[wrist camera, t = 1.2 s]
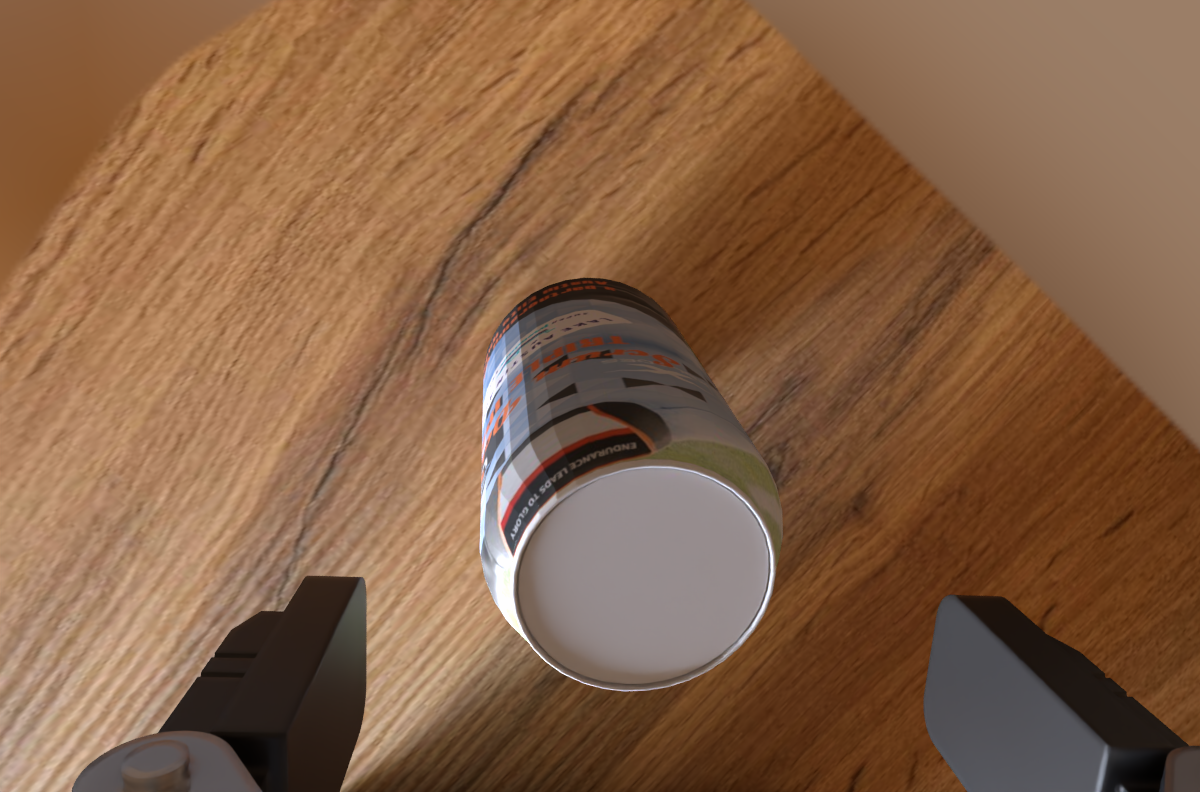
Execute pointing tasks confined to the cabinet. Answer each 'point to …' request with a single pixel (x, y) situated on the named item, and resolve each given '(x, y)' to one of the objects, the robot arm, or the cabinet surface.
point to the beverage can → (619, 492)
